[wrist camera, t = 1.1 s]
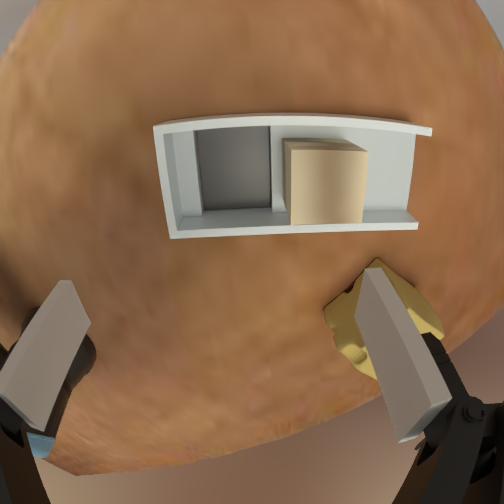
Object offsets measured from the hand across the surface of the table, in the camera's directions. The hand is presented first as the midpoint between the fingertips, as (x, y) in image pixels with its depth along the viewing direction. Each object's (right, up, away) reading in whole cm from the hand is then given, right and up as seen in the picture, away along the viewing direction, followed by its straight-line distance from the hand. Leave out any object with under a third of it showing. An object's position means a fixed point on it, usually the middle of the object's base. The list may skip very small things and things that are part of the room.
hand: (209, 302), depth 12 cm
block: (+8, +10, +14) cm, 19 cm away
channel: (+7, +11, +16) cm, 20 cm away
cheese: (+18, -4, +25) cm, 31 cm away
